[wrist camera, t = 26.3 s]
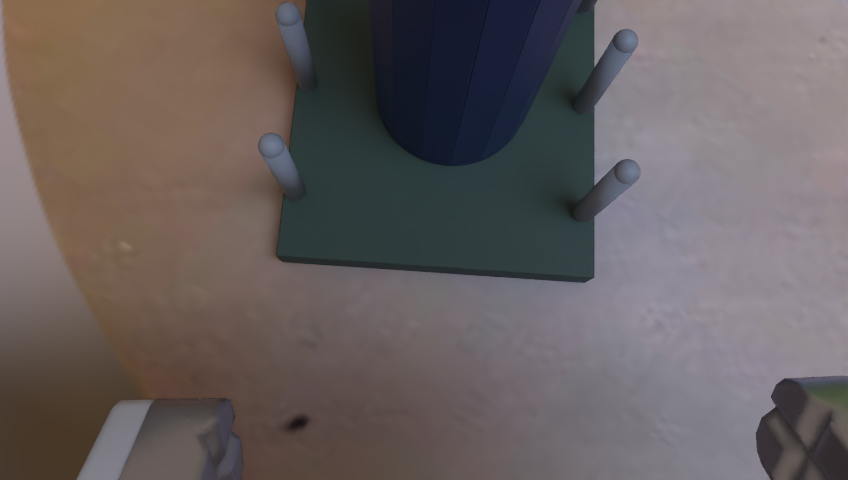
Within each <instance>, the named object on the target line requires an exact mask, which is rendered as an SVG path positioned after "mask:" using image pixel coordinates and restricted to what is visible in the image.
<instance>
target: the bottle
mask: <svg viewBox="0 0 848 480" xmlns="http://www.w3.org/2000/svg"><path fill="white" fill-rule="evenodd" d="M581 2H582V0H368V4H369V16H370V29H371V42H372V54H373V67H374V80H375V89H376V96H377V105H378V110H379V114H380V116H381V119H382V122H383V124H384V126H385V127H386V129H387V131H388V132H389V134H390V135H391V136H392V138H393V139H394V140H395V141H396V142H397V143H398V144H399V145H400V146H401V147H402V148H404V149H405V150H406V151H407V152H409V153H411V154H412V155H414V156H416V157H418V158H420V159H422V160H424V161H427V162H431V163H434V164H439V165H445V166H462V165H468V164H473V163H477V162H480V161H483V160H485V159H487V158H489V157H491V156H493V155H494V154H496V153H497V152H499V151H500V150H502V149H503V148H504V147H505V146H506V145H507V144H508V143H509V142H510V141H511V140H512V138H513V137H514V136H515V134H516V133H517V131H518V129H519V127H520V126H521V125H522V123H523V122H524V120H525V118H526V116H527V114H528V112H529V110H530V108H531V106H532V103H533V101H534V99H535V97H536V95H537V93H538V91H539V89H540V87H541V85H542V83H543V81H544V79H545V76H546V74H547V72H548V70H549V68H550V66H551V64H552V62H553V60H554V58H555V56H556V54H557V52H558V50H559V47H560V45H561V43H562V41H563V39H564V37H565V35H566V33H567V31H568V29H569V27H570V25H571V23H572V20H573V18H574V16H575V14H576V12H577V10H578V8H579V6H580V4H581Z"/></svg>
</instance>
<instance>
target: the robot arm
mask: <svg viewBox="0 0 848 480" xmlns="http://www.w3.org/2000/svg"><path fill="white" fill-rule="evenodd" d="M771 398H772V400H773V402H774V404H775V406H776V407H775V408H774V409H773V410H771V411H770V412H769V413H767V414H766V415H765V416H763V417H762V418H761V421H760V424H759V427H758V429H757V432H756V441H757V452H758V455H759V458H760V461H761V464H762V466H763V468H764V469H765V471H766V473H767V474H768V476H769V478H770V479H771V480H848V376H828V377H806V378H784V379H783V380H782V381H781V382H779V383H778V384H777V385H776V386H775V389H774V391H773V393H772V395H771ZM234 418H235V414H234V410H233V406H232V402H231V400H230V399H227V398H192V399H154V400H120V401H119V402H118V403H117V404H116V405H115V406H114V407H113V408H112V409H111V411H110V413H109V415H108V417H107V419H106V421H105V423H104V425H103V427H102V429H101V431H100V433H99V435H98V437H97V439H96V441H95V443H94V445H93V447H92V449H91V451H90V453H89V455H88V457H87V459H86V461H85V463H84V465H83V467H82V469H81V471H80V473H79V475H78V477H77V479H76V480H242V472H243V454H242V446H241V441H240V437H239V436H238V435H236V434H235V433H234V432H232V431H231V430H232V426H233V422H234Z"/></svg>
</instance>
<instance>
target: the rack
mask: <svg viewBox="0 0 848 480" xmlns="http://www.w3.org/2000/svg"><path fill="white" fill-rule="evenodd" d="M596 2H597V0H582V2H581V4H580V6H579V8H578V10H577V12H576V14H575V16H574V18H573V20H572V23H571V25H570V27H569V29H568V31H567V33H566V35H565V37H564V39H563V41H562V43H561V45H560V47H559V50H558V52H557V54H556V56H555V58H554V60H553V62H552V64H551V66H550V68H549V70H548V72H547V74H546V76H545V79H544V81H543V83H542V85H541V87H540V89H539V91H538V93H537V95H536V97H535V99H534V101H533V103H532V106H531V108H530V110H529V112H528V114H527V116H526V118H525V120H524V122H523V123H522V125H521V126H520V127H519V129H518V131H517V133H516V134H515V136H514V137H513V138H512V140H511V141H510V142H509V143H508V144H507V145H506V146H505V147H504V148H503V149H502V150H500V151H499V152H497V153H496V154H494V155H493V156H491V157H489V158H487V159H485V160H483V161H480V162H477V163H473V164H468V165H462V166H445V165H439V164H434V163H431V162H427V161H424V160H422V159H420V158H418V157H416V156H414V155H412V154H411V153H409V152H407V151H406V150H405V149H404V148H402V147H401V146H400V145H399V144H398V143H397V142H396V141H395V140H394V139H393V138H392V136H391V135H390V134H389V132H388V131H387V129H386V127H385V126H384V124H383V122H382V119H381V116H380V114H379V110H378V105H377V96H376V89H375V80H374V67H373V54H372V42H371V29H370V16H369V4H368V0H307V3H306V11H305V20H304V25H303V21H302V18H301V14H300V11H299V9H298V7H297V6H296V5H295V4H293V3H290V2H284V3H281V4H280V5H279V6H278V7H277V9H276V12H275V16H276V20H277V23H278V26H279V29H280V32H281V35H282V38H283V41H284V44H285V47H286V50H287V53H288V56H289V59H290V62H291V65H292V68H293V71H294V74H295V77H296V80H297V87H296V95H295V103H294V112H293V120H292V128H291V137H290V145H289V151H288V149H287V147H286V145H285V143H284V141H283V139H282V138H281V137H280V136H279V135H278V134H275V133H267V134H264V135H263V136H262V137H261V138H260V139H259V142H258V149H259V152H260V153H261V155H262V157H263V158H264V160H265V162H266V163H267V165H268V167H269V168H270V170H271V172H272V173H273V175H274V177H275V178H276V180H277V182H278V183H279V185H280V187H281V188H282V190H283V192H284V195H283V204H282V212H281V220H280V229H279V237H278V246H277V254H276V255H277V257H278V258H279V259H280V260H281V261H282V262H292V263H307V264H321V265H336V266H350V267H365V268H379V269H394V270H408V271H423V272H437V273H452V274H466V275H481V276H495V277H510V278H524V279H539V280H553V281H568V282H582V283H585V282H587V281H589V280H591V279H592V278H594V217H595V216H596V215H597V214H598V213H599V212H600V211H602V210H603V209H604V208H605V207H606V206H608V205H609V204H610V203H611V202H612V201H613V200H615V199H616V198H617V197H618V196H619V195H621V194H622V193H623V192H624V191H625V190H627V189H628V188H629V187H630V186H631V185H632V184H634V183H635V182H636V181H637V180H638V178H639V177H640V167H639V165H638V164H637V163H636V162H635V161H633V160H630V159H625V160H622V161H620V162H618V163H617V164H616V165H615V166H614V167H613V168H612V169H611V170H610V171H609V172H608V173H607V174H606V175H605V176H604V177H603V178H602V179H601V180H600V181H599V182H598V183H597V184H596V185H595V186H594V106H595V105H596V103H597V102H598V101H599V99H600V98H601V96H602V95H603V94H604V92H605V91H606V89H607V88H608V87H609V85H610V84H611V82H612V81H613V80H614V78H615V77H616V75H617V74H618V73H619V71H620V70H621V68H622V67H623V65H624V64H625V63H626V61H627V60H628V58H629V57H630V56H631V54H632V53H633V51H634V50H635V49H636V47H637V44H638V37H637V35H636V33H635V32H634V31H632V30H630V29H623V30H620V31H619V32H617V33H616V35H615V36H614V37H613V39H612V41H611V42H610V44H609V46H608V47H607V49H606V50H605V52H604V54H603V55H602V57H601V58H600V60H599V62H598V63H597V65H596V66H595V68H594V5H595V4H596Z"/></svg>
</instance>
